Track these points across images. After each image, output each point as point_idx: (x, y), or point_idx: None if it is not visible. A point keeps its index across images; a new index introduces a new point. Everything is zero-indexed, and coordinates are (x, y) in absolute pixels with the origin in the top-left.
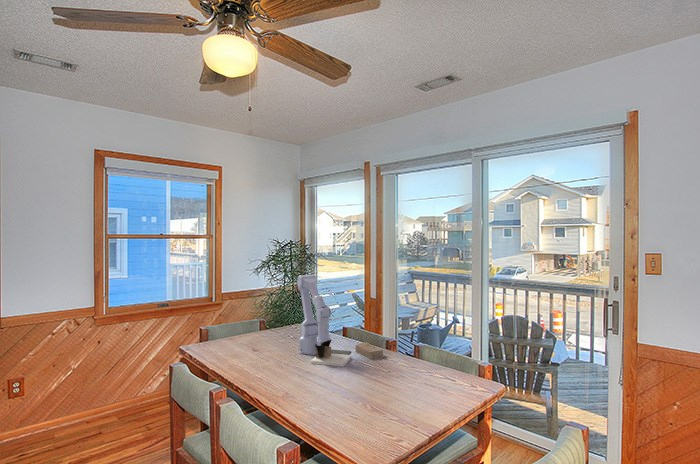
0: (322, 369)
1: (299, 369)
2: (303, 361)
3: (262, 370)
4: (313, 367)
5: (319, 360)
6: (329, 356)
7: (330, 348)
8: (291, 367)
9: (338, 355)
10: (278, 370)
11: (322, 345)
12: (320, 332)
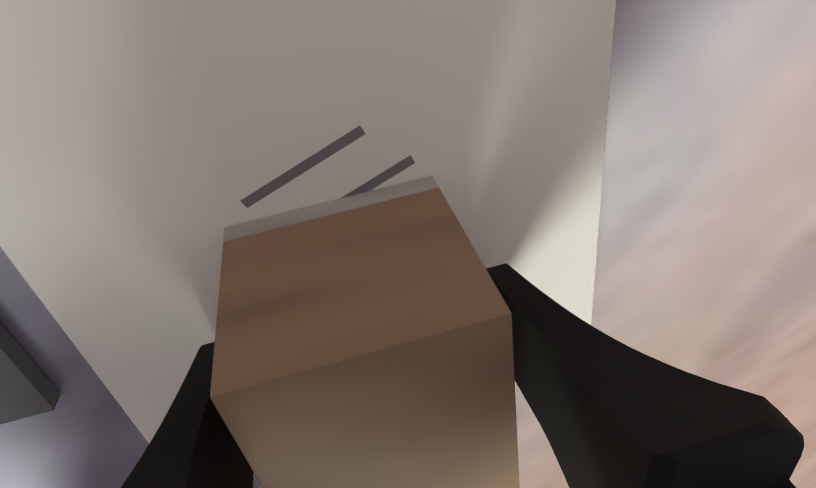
0: (799, 23)
1: (790, 292)
2: (520, 415)
3: (805, 475)
4: (714, 201)
5: (554, 258)
6: (342, 213)
7: (276, 353)
8: (730, 383)
9: (42, 109)
10: (811, 408)
11: (755, 483)
12: None
